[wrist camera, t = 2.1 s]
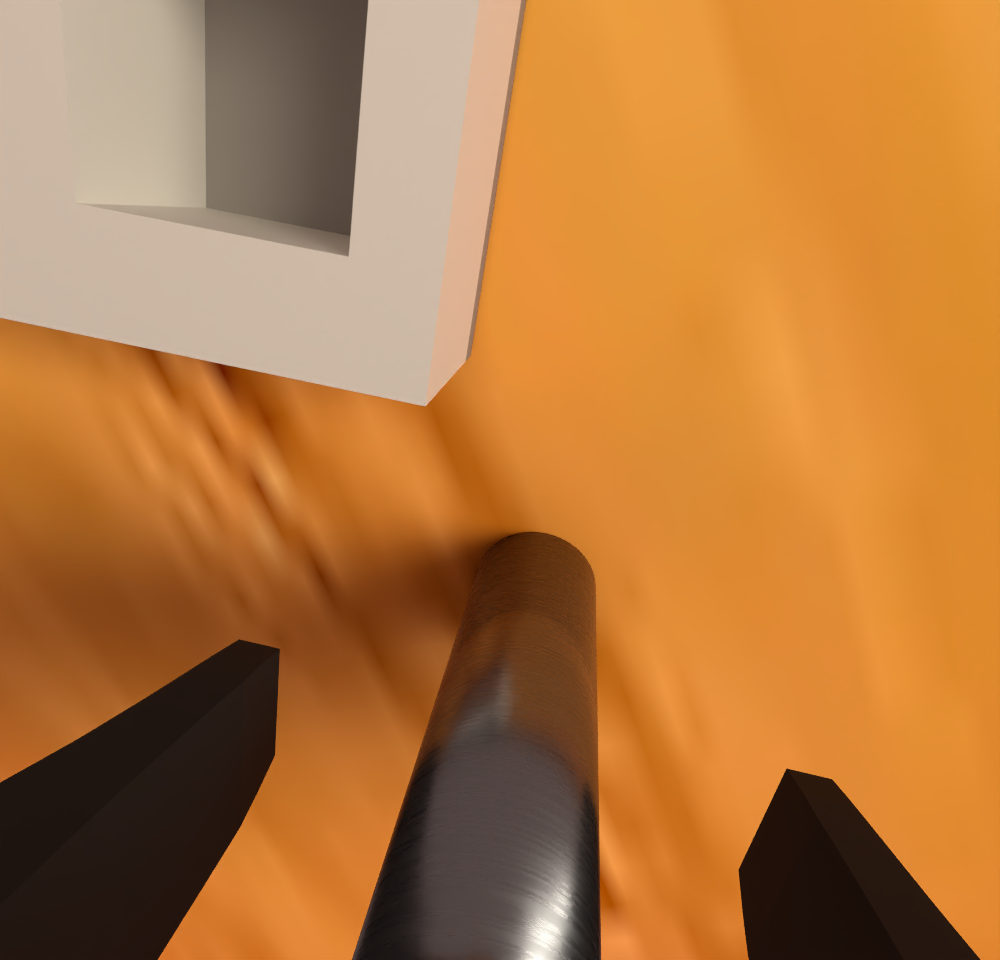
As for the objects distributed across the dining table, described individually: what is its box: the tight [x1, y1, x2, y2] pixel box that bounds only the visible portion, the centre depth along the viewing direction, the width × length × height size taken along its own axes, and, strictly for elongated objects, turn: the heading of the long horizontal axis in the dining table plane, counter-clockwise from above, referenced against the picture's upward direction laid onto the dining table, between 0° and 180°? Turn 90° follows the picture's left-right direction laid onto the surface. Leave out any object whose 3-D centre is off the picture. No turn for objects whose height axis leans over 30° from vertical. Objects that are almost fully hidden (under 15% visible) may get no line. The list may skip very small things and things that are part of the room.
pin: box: [352, 532, 601, 960], centre depth 10 cm, size 2×2×8 cm
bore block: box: [0, 0, 526, 406], centre depth 9 cm, size 7×12×4 cm, turn 80°
